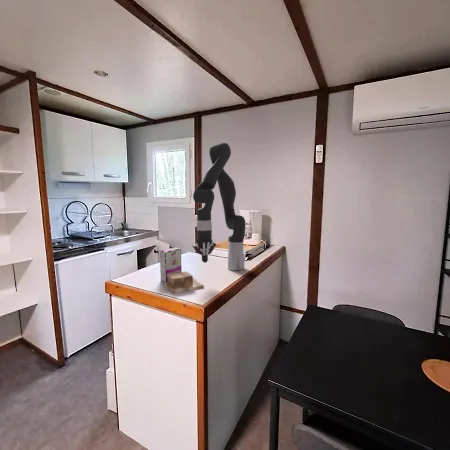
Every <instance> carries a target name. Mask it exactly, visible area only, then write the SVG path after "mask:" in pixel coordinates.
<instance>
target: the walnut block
mask: <svg viewBox="0 0 450 450" xmlns="http://www.w3.org/2000/svg"><path fill="white" fill-rule="evenodd" d="M193 278H194V277H193V275H192V274H191V273H189V272H188V271H182V272H179V273H173V274H168V282H167V283H168V285H169V286H170V287H171V288H172V289H177V288H183V287H188V286H193Z"/></svg>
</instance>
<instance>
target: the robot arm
mask: <svg viewBox="0 0 450 450" xmlns="http://www.w3.org/2000/svg"><path fill="white" fill-rule="evenodd" d="M208 152H209V158H210V161H211V163H212V165H211V166H210V167H209V168H208V169H207V170H206V172H205V173H204V176H203V178H202V181H201V182H200V184H198V186H197V187H196V188H195V190H194V191H193V194H192V199H193V201H194V202H195V203H196V204H204V206H203V207H200V208H198V209H197V211H196V238H197V239H196V243H195V244H193V245H192V248H193V249H194V250H195V252H196V253H197V254H198V255H201V262H202V263H208V261H209V255H210V254H212V252H213V251H214V250H215V248H216V246H217V243H215V242H214V241H213V239H212V238H213V237H212V236H213V235H212V234H213V232H212V231H213V230H212V229H213V227H212V226H213V225H212V208H213V204H214V200H215V193H214V191H213V190H214V189H215V187H216V184H217V185H218V190H219V193H220V197H221V201H222V206H223V207H222V208H223V214H224V219H225V220H224V221H225V225H226V227H227V228H228V229H229V230H231V231H232V235H230V236H228V237H227V238H228V239H227V240H228V241H227V242H228V243H227V244H228V247H227V248H228V249H227V250H228V251H227V252H228V254H227V268H228V270H230V271H234V272H235V271H242V270H244V269H245V258H246V256H245V253H244V240H245V237H246V219H245V217H244V216H242V215H238V214H236V213H235V200H236V195H237V191H236V187H235V181H234V180H233V179H232V178H231V176H230V174H228V173H227V172H226V170H225V169H224V168H225V166H226V164H227V163H228V162H229V159H230V157H231V155H232V150H231V147H230V145H229V144H228V143H227V142H222V143H218V144H214V145H213V144H212V145H211V146H210V147H209V151H208Z"/></svg>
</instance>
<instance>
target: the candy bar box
mask: <svg viewBox="0 0 450 450" xmlns="http://www.w3.org/2000/svg"><path fill="white" fill-rule="evenodd" d="M159 264H160V265H159V267H160V269H159V270H160V271H159V272H160V281H161V282H163V283H168V274H173V273H179V272H183V271H182V248H179V247H176V246H175V247H172V248H171V247H170V248H167V249H166V248H165V249H161V250H159Z"/></svg>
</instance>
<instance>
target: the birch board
mask: <svg viewBox="0 0 450 450" xmlns="http://www.w3.org/2000/svg"><path fill="white" fill-rule="evenodd" d="M164 287H166V288H167V290H168V291H169V292H170V293H171V294H178V293H182V292H188V291H193V290H194V291H195V290H198V289H203V288H205V286H204V284H203V283H201V282H200V281H198V280H197V279H196V278H195V277H193V286H188V287H183V288H177V289H172V288H171V287H170V286H169V285H168V282H164Z"/></svg>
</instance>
